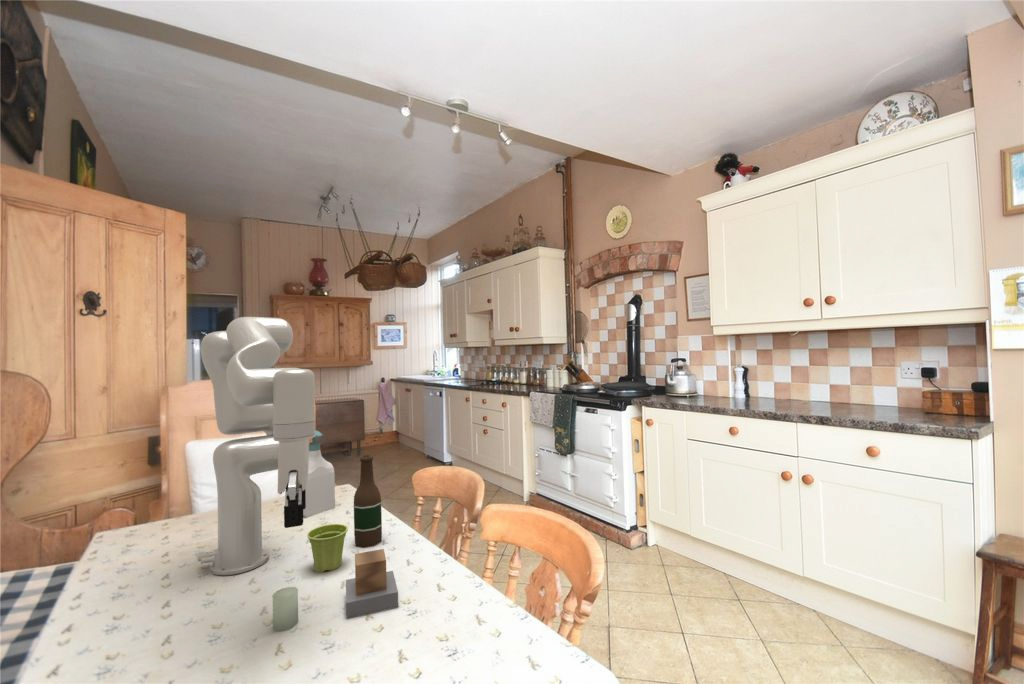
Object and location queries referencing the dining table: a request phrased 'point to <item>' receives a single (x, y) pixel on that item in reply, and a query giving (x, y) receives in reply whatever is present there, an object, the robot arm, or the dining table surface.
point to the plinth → (371, 598)
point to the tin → (285, 608)
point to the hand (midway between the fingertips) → (295, 517)
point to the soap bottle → (319, 481)
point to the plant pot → (327, 546)
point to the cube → (370, 572)
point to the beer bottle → (367, 507)
